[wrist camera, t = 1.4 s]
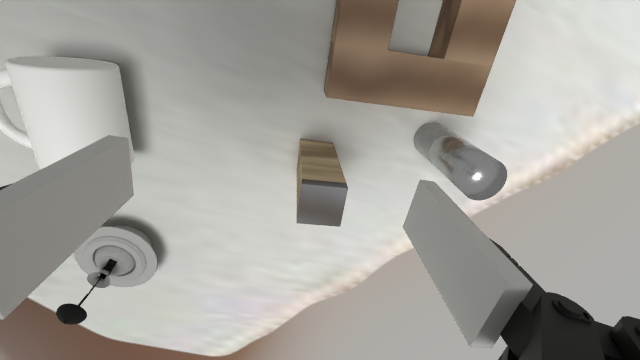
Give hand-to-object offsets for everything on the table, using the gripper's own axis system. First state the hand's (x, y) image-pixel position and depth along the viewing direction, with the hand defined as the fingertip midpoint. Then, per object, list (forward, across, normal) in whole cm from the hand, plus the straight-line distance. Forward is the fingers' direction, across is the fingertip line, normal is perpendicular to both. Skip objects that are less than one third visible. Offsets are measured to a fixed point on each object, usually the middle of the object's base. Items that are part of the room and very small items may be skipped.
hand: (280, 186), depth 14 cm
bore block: (+22, +11, +10) cm, 27 cm away
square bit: (+22, +4, -6) cm, 23 cm away
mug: (+22, -22, -4) cm, 32 cm away
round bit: (+22, +18, -2) cm, 28 cm away
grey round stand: (+22, -19, -23) cm, 38 cm away
